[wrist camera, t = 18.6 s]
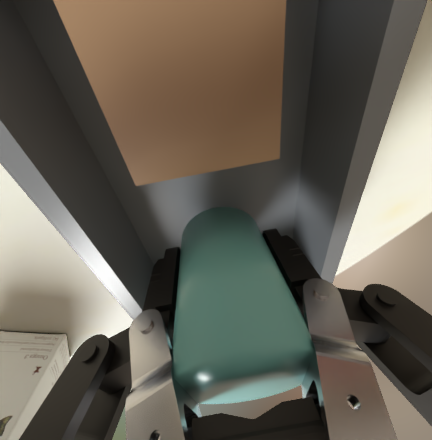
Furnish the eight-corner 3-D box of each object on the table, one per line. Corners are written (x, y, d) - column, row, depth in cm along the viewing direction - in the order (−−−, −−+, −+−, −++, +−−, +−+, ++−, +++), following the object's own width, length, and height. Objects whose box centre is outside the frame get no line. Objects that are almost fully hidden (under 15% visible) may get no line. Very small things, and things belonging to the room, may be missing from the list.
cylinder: (171, 216, 10) (141, 369, 4) (258, 199, 10) (342, 331, 4) (192, 272, 13) (191, 411, 7) (260, 259, 13) (312, 388, 7)
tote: (-21, -38, 7) (-341, -240, 3) (342, -113, 7) (575, -441, 3) (151, 270, 17) (138, 325, 13) (297, 242, 17) (330, 288, 13)
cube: (118, 26, 7) (25, -61, 3) (237, 3, 7) (291, -113, 3) (159, 151, 10) (135, 186, 6) (245, 134, 10) (279, 158, 6)
